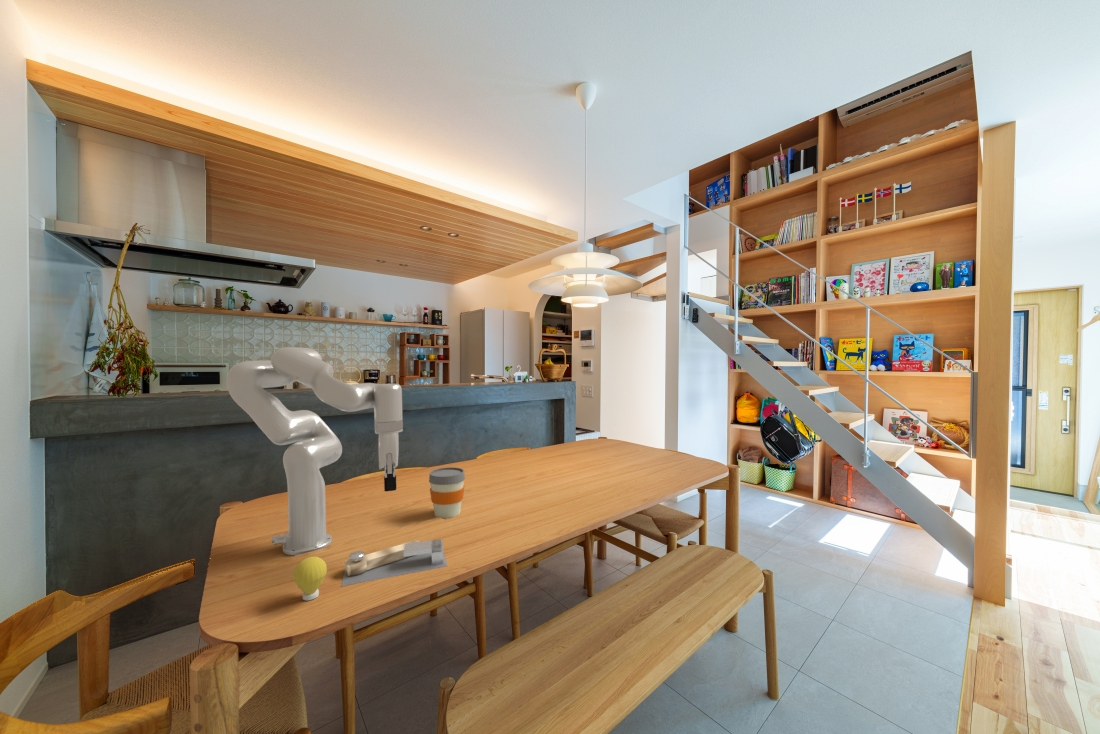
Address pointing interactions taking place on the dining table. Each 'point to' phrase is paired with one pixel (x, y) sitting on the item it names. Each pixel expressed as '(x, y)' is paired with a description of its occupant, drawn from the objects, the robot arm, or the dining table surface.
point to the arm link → (376, 559)
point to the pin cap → (356, 556)
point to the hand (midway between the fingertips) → (390, 490)
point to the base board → (395, 569)
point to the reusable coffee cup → (447, 491)
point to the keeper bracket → (426, 549)
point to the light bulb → (310, 576)
